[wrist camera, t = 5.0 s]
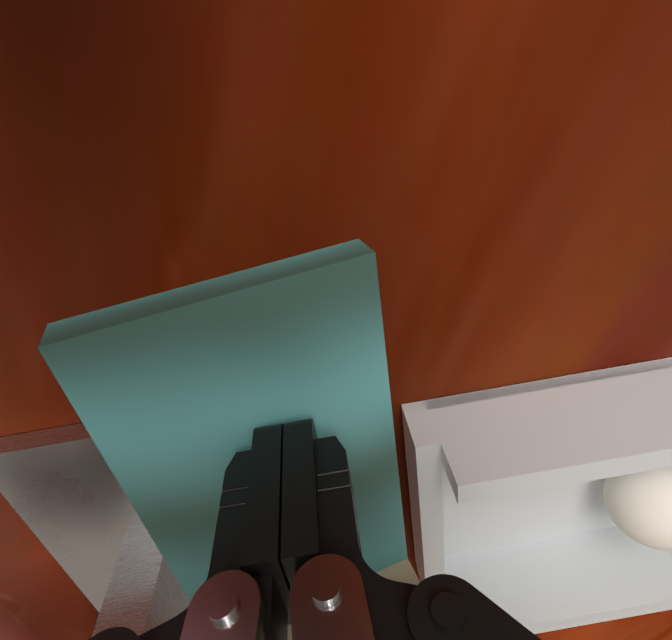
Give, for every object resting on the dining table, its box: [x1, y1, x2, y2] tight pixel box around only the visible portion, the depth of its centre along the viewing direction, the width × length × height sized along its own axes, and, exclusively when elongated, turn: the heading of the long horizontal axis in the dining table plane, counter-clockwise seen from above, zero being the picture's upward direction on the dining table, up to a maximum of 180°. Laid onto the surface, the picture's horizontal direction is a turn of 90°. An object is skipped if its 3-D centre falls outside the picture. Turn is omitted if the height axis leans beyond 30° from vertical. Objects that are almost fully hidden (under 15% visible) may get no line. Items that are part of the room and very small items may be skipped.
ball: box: [603, 467, 672, 550], centre depth 20 cm, size 4×4×4 cm
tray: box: [401, 357, 672, 634], centre depth 21 cm, size 12×14×4 cm
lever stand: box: [0, 423, 190, 638], centre depth 20 cm, size 16×10×6 cm, turn 8°
